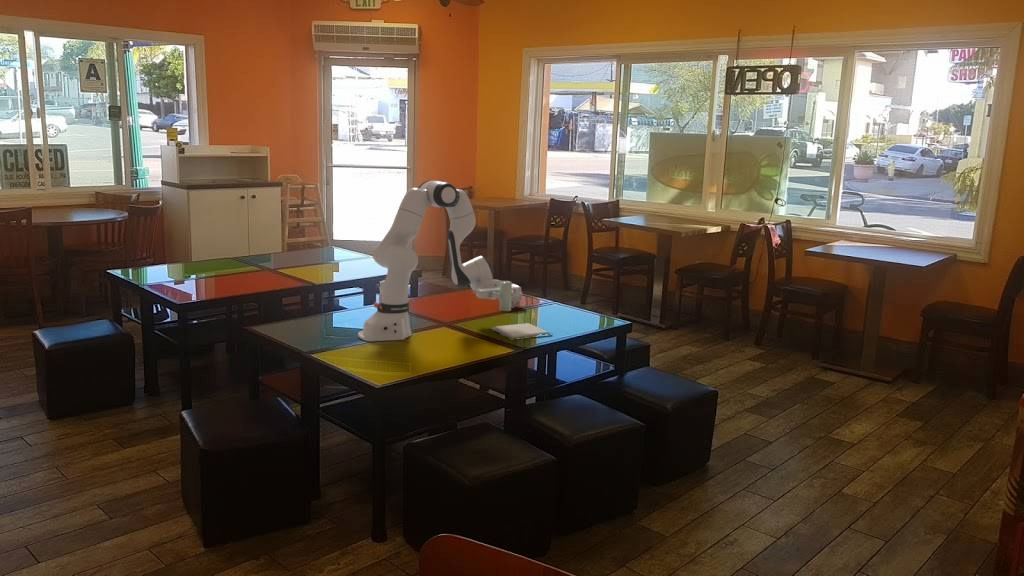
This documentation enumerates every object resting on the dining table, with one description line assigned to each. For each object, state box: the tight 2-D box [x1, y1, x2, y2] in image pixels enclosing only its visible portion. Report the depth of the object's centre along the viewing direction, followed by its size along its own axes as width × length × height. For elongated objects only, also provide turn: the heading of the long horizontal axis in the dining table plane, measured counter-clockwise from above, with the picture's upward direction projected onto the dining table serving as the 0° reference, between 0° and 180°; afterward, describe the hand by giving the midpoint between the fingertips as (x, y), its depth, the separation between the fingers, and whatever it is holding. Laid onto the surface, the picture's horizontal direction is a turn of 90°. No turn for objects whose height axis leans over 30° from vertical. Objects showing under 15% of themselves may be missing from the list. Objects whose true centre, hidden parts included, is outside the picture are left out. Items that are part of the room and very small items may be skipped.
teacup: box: [497, 291, 523, 308], centre depth 395 cm, size 15×12×8 cm
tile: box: [490, 323, 552, 340], centre depth 346 cm, size 20×20×2 cm
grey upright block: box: [499, 280, 512, 312], centre depth 338 cm, size 5×5×12 cm
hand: (506, 295), depth 338 cm, fingers closed on grey upright block, 5 cm apart
